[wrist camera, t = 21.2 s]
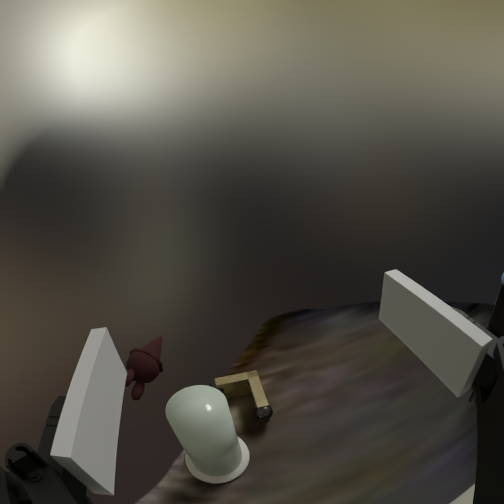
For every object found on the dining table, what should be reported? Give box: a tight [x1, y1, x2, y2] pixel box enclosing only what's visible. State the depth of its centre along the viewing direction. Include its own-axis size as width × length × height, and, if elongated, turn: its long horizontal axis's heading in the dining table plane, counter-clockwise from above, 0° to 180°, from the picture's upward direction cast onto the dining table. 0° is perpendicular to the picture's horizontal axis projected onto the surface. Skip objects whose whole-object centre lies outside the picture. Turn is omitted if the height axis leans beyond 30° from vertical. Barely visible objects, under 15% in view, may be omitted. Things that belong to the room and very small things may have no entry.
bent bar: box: [209, 370, 273, 422], centre depth 40 cm, size 9×10×4 cm
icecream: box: [125, 336, 163, 400], centre depth 48 cm, size 7×7×15 cm
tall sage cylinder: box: [166, 385, 242, 477], centre depth 30 cm, size 7×7×12 cm
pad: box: [185, 437, 250, 484], centre depth 32 cm, size 9×9×1 cm
